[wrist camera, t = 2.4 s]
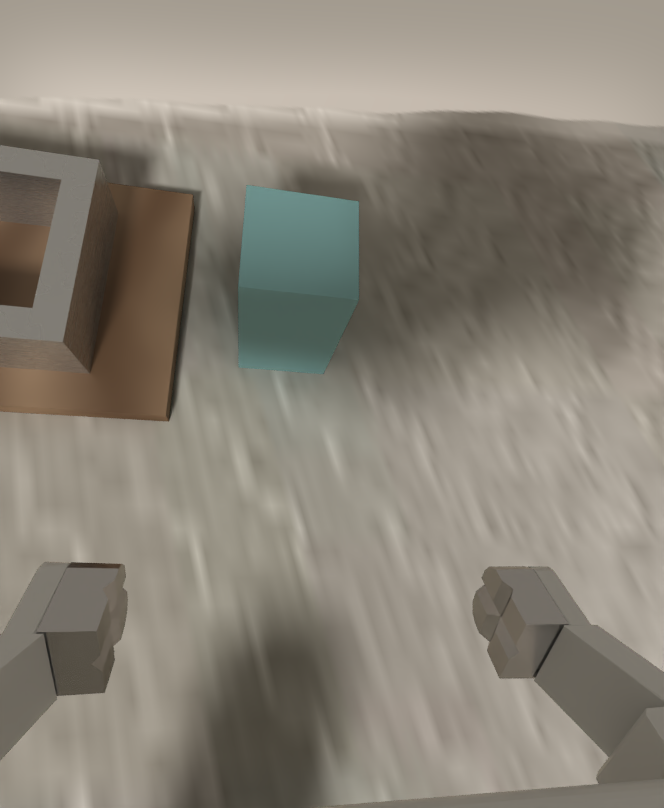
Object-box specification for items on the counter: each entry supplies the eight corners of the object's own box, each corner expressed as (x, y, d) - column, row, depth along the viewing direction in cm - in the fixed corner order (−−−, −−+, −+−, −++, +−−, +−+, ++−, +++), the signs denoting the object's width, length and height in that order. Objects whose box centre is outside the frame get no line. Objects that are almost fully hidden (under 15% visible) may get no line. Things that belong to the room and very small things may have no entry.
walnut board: (194, 207, 30) (192, 194, 29) (168, 421, 26) (165, 415, 25) (-133, 163, 27) (-149, 146, 26) (-222, 397, 23) (-247, 390, 21)
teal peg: (324, 300, 30) (358, 201, 21) (323, 374, 28) (359, 299, 20) (244, 291, 29) (246, 184, 20) (238, 367, 27) (237, 286, 19)
